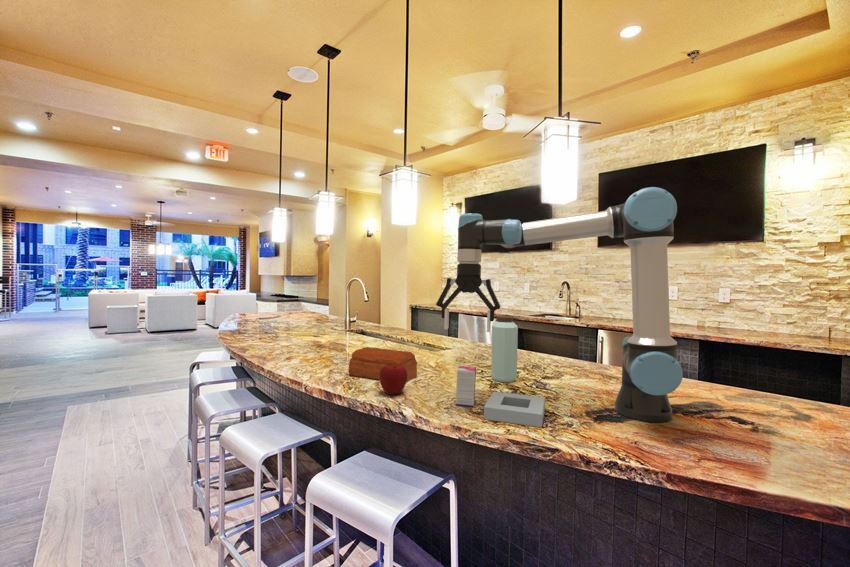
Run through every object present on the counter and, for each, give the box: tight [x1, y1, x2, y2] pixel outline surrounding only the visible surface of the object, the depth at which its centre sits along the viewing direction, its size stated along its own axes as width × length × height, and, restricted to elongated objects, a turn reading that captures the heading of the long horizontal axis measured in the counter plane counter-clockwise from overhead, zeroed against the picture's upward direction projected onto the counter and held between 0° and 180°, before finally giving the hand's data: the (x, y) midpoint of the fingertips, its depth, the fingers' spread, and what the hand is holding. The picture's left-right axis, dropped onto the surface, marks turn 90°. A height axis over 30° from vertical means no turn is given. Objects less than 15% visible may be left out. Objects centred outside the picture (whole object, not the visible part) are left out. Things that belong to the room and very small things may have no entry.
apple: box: [379, 364, 407, 396], centre depth 133 cm, size 10×10×10 cm
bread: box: [348, 346, 418, 383], centre depth 157 cm, size 16×27×11 cm, turn 64°
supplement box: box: [455, 365, 477, 408], centre depth 123 cm, size 6×6×12 cm
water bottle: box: [490, 315, 519, 383], centre depth 153 cm, size 10×10×25 cm
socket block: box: [483, 391, 546, 428], centre depth 115 cm, size 16×16×4 cm
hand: (467, 330), depth 123 cm, fingers open, 13 cm apart
